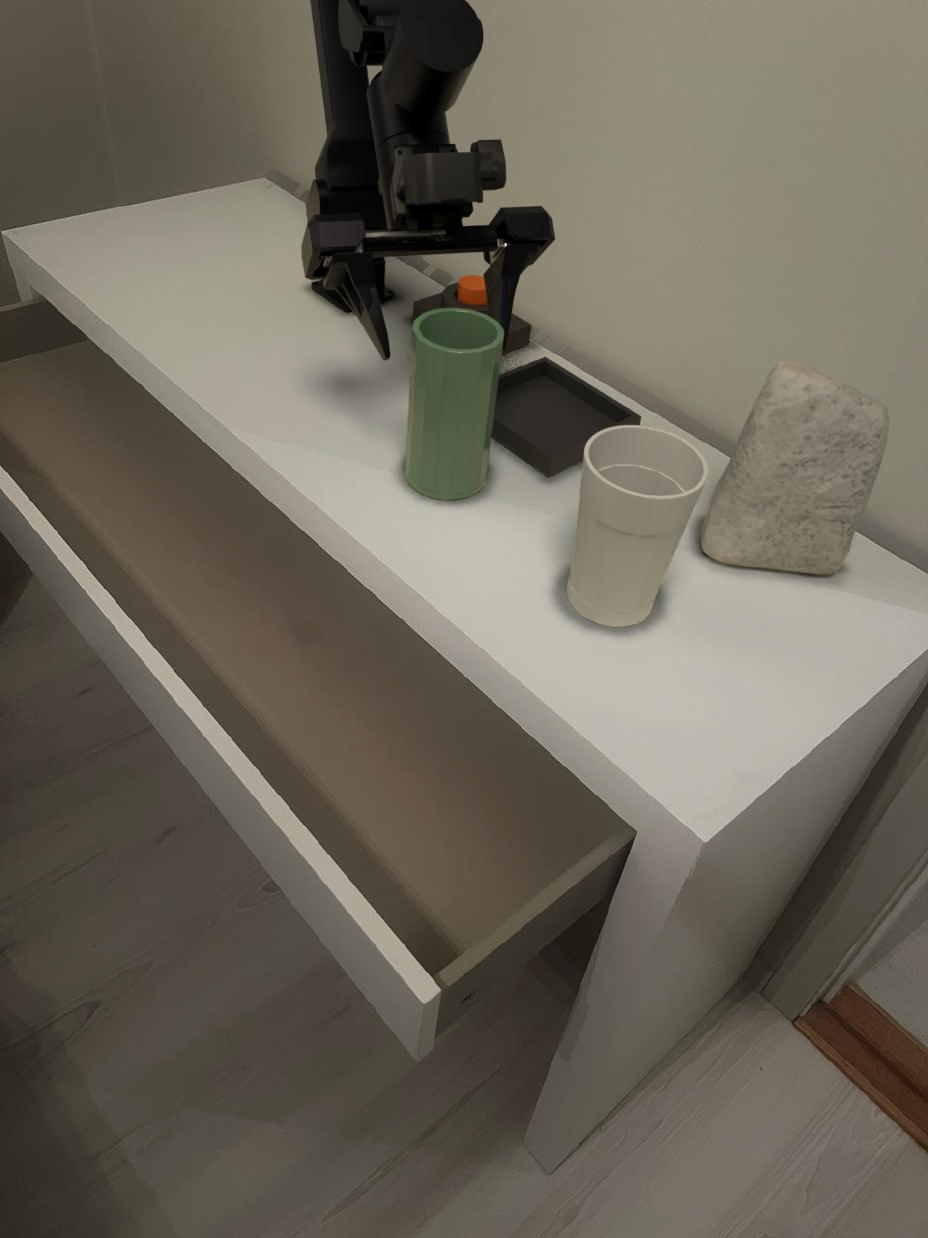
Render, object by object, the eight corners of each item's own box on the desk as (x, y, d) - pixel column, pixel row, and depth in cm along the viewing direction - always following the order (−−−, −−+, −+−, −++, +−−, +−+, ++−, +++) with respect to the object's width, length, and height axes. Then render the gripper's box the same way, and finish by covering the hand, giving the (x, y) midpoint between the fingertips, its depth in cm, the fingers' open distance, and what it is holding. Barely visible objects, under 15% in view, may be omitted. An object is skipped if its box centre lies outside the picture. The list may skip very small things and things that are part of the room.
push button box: (412, 321, 94) (413, 283, 92) (463, 304, 98) (467, 267, 95) (476, 364, 89) (480, 325, 87) (529, 345, 93) (534, 307, 90)
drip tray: (453, 410, 83) (455, 390, 82) (542, 374, 89) (545, 356, 88) (548, 478, 77) (551, 458, 76) (637, 435, 83) (642, 416, 82)
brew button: (450, 296, 91) (451, 279, 90) (474, 288, 93) (476, 271, 92) (471, 309, 90) (473, 292, 88) (496, 301, 91) (498, 284, 90)
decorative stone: (834, 542, 74) (914, 376, 64) (840, 591, 70) (926, 422, 60) (698, 516, 75) (755, 348, 65) (696, 563, 71) (757, 391, 61)
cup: (661, 645, 65) (707, 509, 56) (548, 622, 65) (577, 484, 57) (666, 571, 70) (709, 437, 62) (562, 550, 71) (590, 415, 62)
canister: (389, 469, 76) (394, 321, 67) (450, 443, 80) (463, 299, 71) (440, 510, 73) (453, 361, 64) (502, 481, 76) (522, 336, 67)
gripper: (302, 90, 60) (340, 329, 61) (566, 89, 65) (600, 310, 66) (286, 172, 71) (319, 375, 72) (514, 166, 76) (543, 356, 77)
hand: (445, 354), depth 71 cm, fingers open, 9 cm apart
